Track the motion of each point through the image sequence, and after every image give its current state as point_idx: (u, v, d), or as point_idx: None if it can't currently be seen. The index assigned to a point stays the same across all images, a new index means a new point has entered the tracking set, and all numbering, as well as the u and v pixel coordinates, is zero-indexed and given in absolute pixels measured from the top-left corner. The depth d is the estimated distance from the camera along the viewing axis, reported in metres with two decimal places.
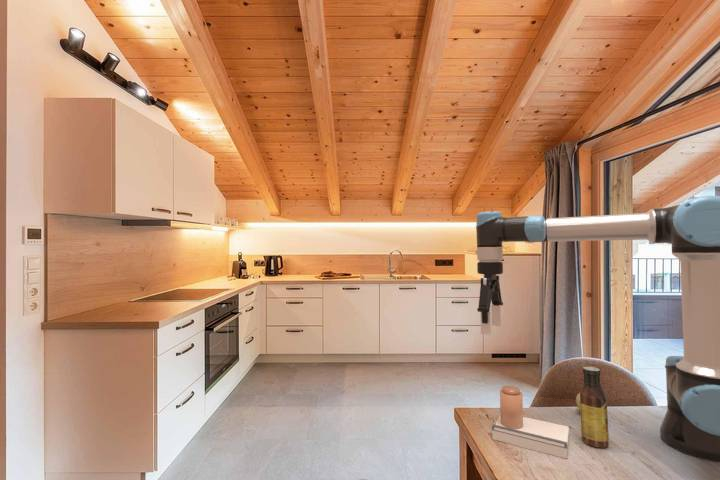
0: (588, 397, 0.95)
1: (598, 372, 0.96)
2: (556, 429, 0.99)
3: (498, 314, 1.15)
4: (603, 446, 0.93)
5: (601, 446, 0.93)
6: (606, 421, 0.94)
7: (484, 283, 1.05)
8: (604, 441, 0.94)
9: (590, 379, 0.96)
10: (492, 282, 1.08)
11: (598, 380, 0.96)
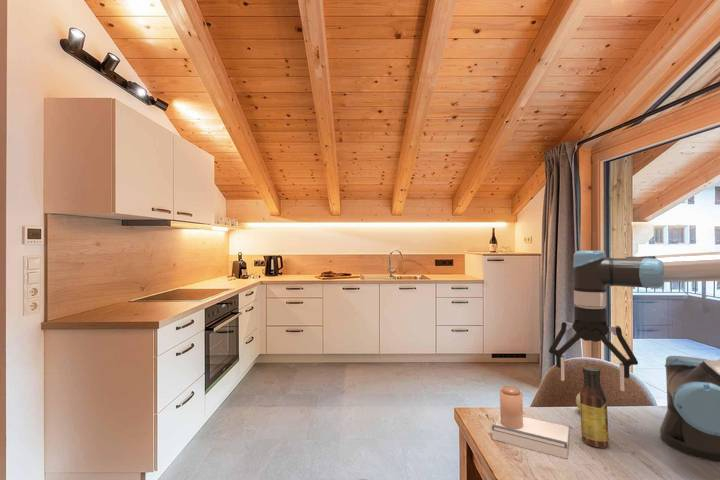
0: (588, 397, 0.95)
1: (598, 372, 0.96)
2: (556, 429, 0.99)
3: (620, 375, 0.93)
4: (603, 446, 0.93)
5: (601, 446, 0.93)
6: (606, 421, 0.94)
7: None
8: (604, 441, 0.94)
9: (590, 379, 0.96)
10: (581, 329, 0.98)
11: (598, 380, 0.96)
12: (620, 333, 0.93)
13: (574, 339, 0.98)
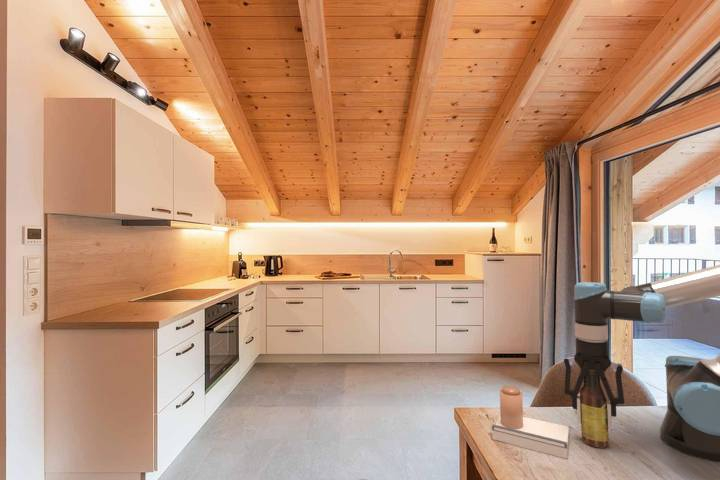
0: (588, 397, 0.95)
1: None
2: (556, 429, 0.99)
3: None
4: (603, 446, 0.93)
5: (601, 446, 0.93)
6: (606, 421, 0.94)
7: None
8: (604, 441, 0.94)
9: (590, 379, 0.96)
10: (583, 363, 0.97)
11: (598, 380, 0.96)
12: (620, 372, 0.93)
13: (581, 375, 0.97)
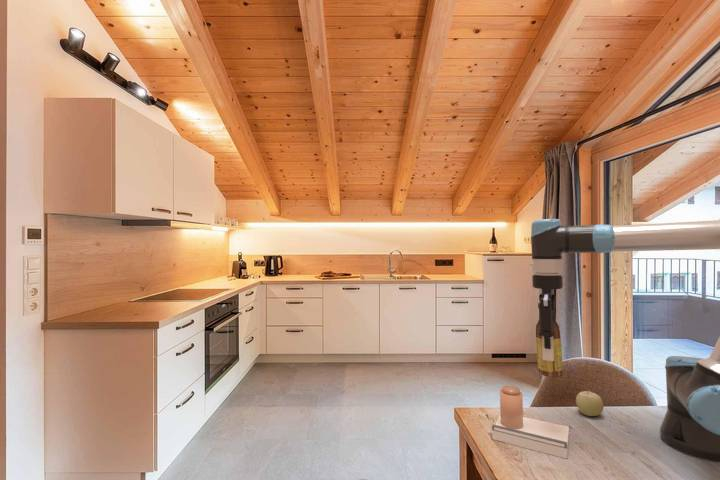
0: (558, 330, 0.97)
1: None
2: (556, 429, 0.99)
3: None
4: None
5: None
6: None
7: (545, 304, 0.94)
8: None
9: (553, 312, 0.99)
10: None
11: None
12: None
13: (553, 311, 0.97)
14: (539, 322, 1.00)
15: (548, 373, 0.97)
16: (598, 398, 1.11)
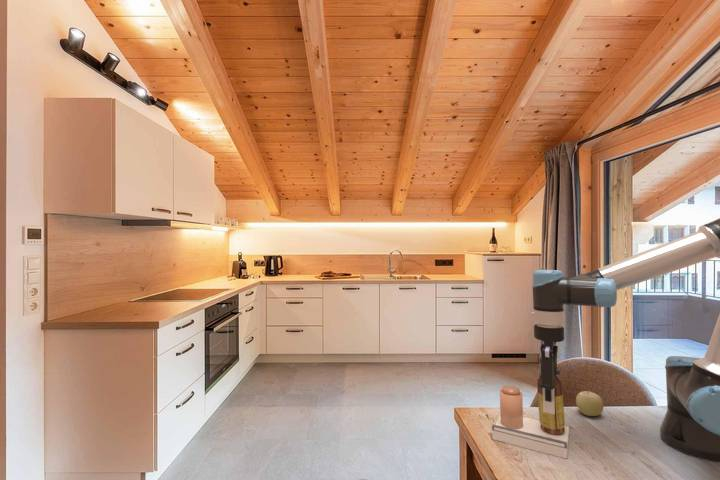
0: (560, 386, 0.96)
1: None
2: None
3: None
4: None
5: None
6: None
7: (546, 355, 0.94)
8: None
9: (555, 368, 0.98)
10: (553, 350, 0.97)
11: None
12: (555, 344, 1.04)
13: (554, 363, 0.96)
14: (541, 377, 0.99)
15: (550, 430, 0.96)
16: (598, 398, 1.11)
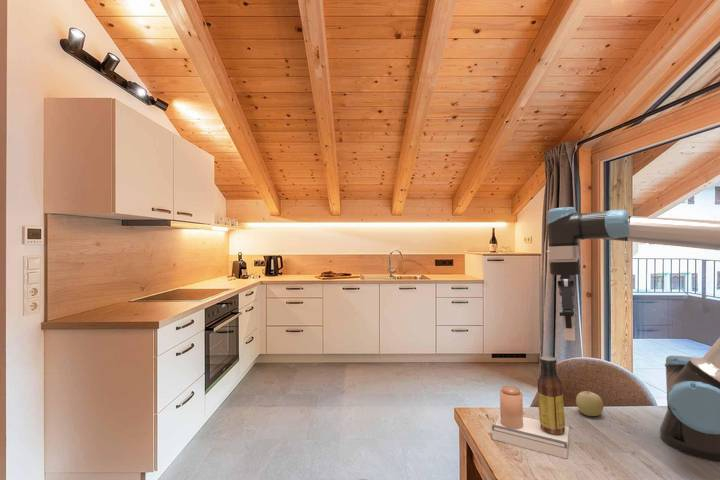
0: (560, 386, 0.97)
1: None
2: None
3: None
4: None
5: None
6: None
7: (565, 284, 0.97)
8: None
9: (555, 368, 0.98)
10: None
11: None
12: None
13: (572, 294, 0.99)
14: (541, 377, 0.99)
15: (550, 430, 0.96)
16: (598, 398, 1.11)
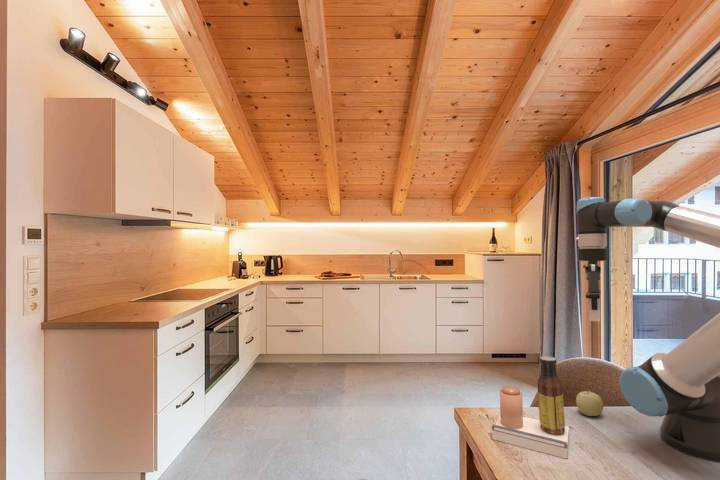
0: (560, 386, 0.97)
1: None
2: None
3: None
4: None
5: None
6: None
7: (592, 269, 1.03)
8: None
9: (555, 368, 0.98)
10: None
11: None
12: None
13: (598, 279, 1.05)
14: (541, 377, 0.99)
15: (550, 430, 0.96)
16: (598, 398, 1.11)
